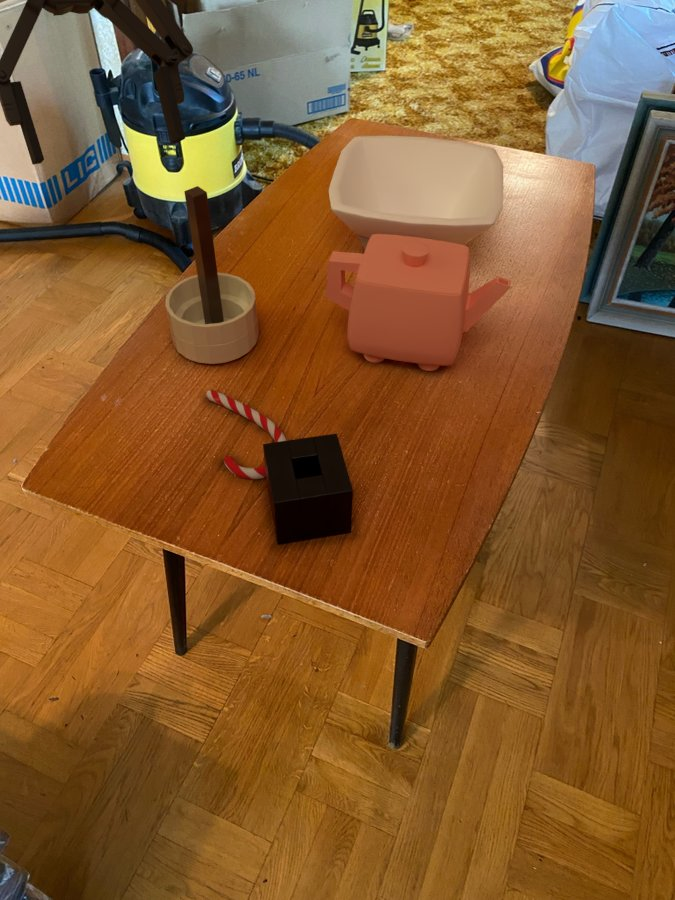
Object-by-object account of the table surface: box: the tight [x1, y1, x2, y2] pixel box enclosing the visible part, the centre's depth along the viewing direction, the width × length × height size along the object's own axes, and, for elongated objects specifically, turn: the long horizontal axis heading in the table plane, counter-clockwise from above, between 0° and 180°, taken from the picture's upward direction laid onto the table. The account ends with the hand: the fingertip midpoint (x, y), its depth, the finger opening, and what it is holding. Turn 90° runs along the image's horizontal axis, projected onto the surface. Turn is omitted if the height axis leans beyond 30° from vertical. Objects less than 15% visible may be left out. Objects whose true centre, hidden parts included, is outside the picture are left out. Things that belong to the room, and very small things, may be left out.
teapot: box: [325, 234, 512, 372], centre depth 88 cm, size 22×13×14 cm, turn 78°
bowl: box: [328, 134, 504, 252], centre depth 106 cm, size 24×25×10 cm
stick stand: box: [262, 433, 354, 546], centre depth 72 cm, size 8×8×7 cm
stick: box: [184, 185, 224, 324], centre depth 85 cm, size 2×2×20 cm
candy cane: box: [205, 389, 287, 480], centre depth 81 cm, size 8×1×15 cm
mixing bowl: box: [164, 272, 260, 365], centre depth 90 cm, size 11×11×6 cm
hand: (111, 151), depth 68 cm, fingers open, 13 cm apart
